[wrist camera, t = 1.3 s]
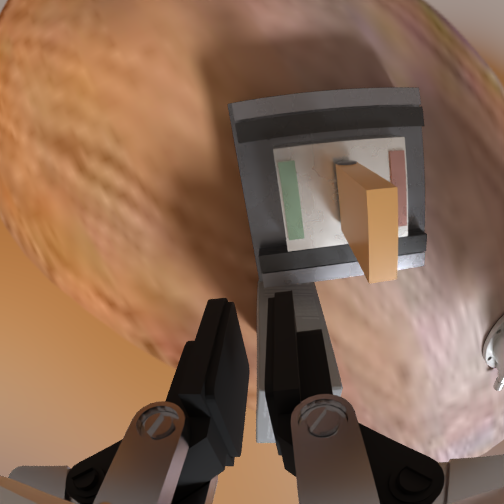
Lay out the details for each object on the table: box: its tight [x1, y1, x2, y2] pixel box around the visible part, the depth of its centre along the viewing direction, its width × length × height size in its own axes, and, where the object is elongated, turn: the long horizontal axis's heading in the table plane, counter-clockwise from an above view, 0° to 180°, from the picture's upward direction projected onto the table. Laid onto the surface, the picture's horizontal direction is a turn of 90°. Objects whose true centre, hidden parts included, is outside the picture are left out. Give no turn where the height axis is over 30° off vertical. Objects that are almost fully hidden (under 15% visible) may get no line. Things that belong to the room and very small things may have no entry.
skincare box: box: [256, 281, 343, 443], centre depth 30 cm, size 8×7×16 cm
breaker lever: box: [335, 160, 398, 284], centre depth 19 cm, size 5×2×8 cm, turn 10°
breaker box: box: [228, 88, 427, 288], centre depth 27 cm, size 16×16×8 cm
